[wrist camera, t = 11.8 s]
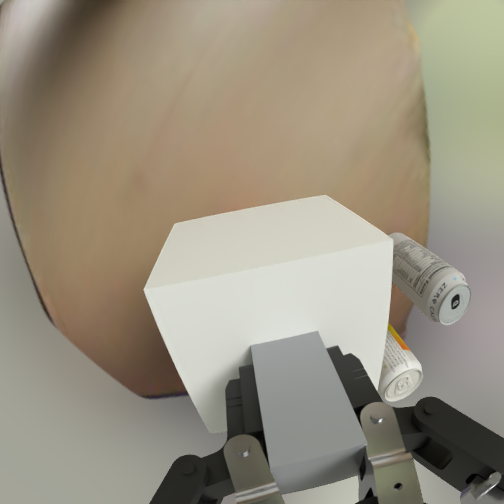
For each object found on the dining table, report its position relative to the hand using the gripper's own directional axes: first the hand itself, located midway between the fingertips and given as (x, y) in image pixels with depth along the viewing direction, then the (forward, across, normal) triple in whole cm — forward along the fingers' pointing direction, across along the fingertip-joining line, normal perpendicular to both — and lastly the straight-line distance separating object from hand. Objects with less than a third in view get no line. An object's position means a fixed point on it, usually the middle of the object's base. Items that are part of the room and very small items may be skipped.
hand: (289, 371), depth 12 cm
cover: (+10, 0, 0) cm, 10 cm away
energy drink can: (+24, -19, +8) cm, 32 cm away
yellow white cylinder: (+24, -14, +18) cm, 33 cm away
